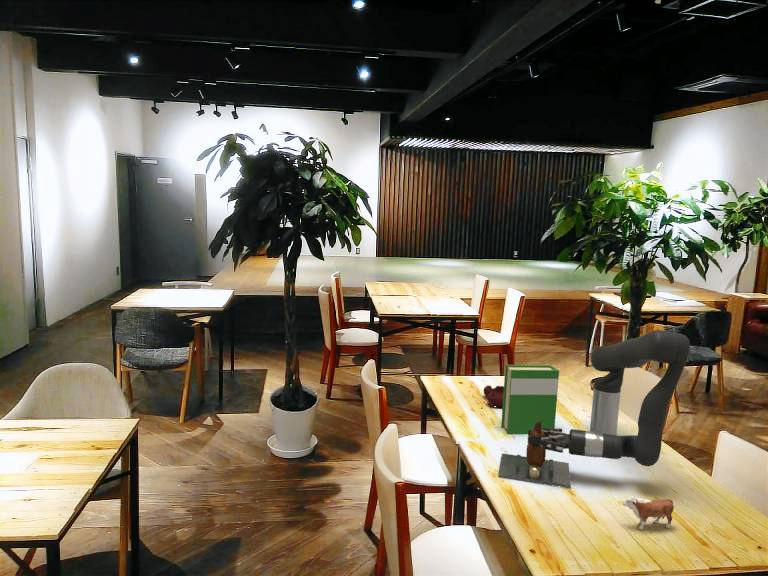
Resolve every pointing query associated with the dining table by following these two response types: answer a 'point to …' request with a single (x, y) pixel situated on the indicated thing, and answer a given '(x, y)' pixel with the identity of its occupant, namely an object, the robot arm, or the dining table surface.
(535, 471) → the metal mounting plate
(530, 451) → the wooden figurine
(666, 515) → the bull figurine
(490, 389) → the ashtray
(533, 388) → the hardback book
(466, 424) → the dining table surface
